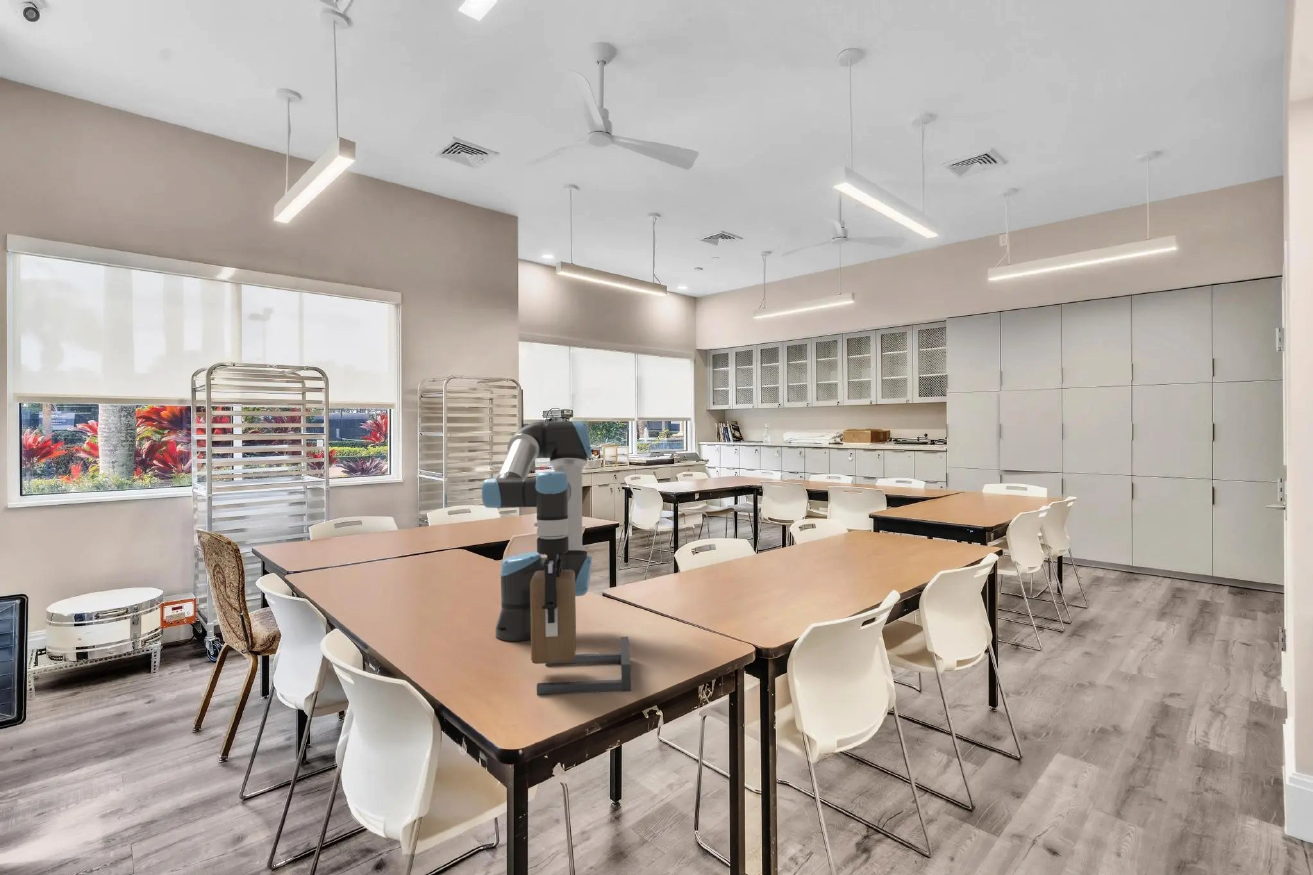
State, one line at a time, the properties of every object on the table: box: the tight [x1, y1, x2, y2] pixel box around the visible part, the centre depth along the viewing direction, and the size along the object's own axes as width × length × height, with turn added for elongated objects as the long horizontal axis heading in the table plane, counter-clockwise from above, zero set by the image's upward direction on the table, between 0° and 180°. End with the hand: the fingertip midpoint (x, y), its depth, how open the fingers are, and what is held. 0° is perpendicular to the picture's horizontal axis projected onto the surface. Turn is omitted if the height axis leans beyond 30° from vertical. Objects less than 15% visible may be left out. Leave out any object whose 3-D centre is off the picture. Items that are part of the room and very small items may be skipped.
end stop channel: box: [536, 636, 632, 696], centre depth 146 cm, size 21×20×6 cm
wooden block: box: [530, 570, 577, 665], centre depth 146 cm, size 10×10×20 cm
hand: (554, 628), depth 146 cm, fingers closed on wooden block, 10 cm apart
